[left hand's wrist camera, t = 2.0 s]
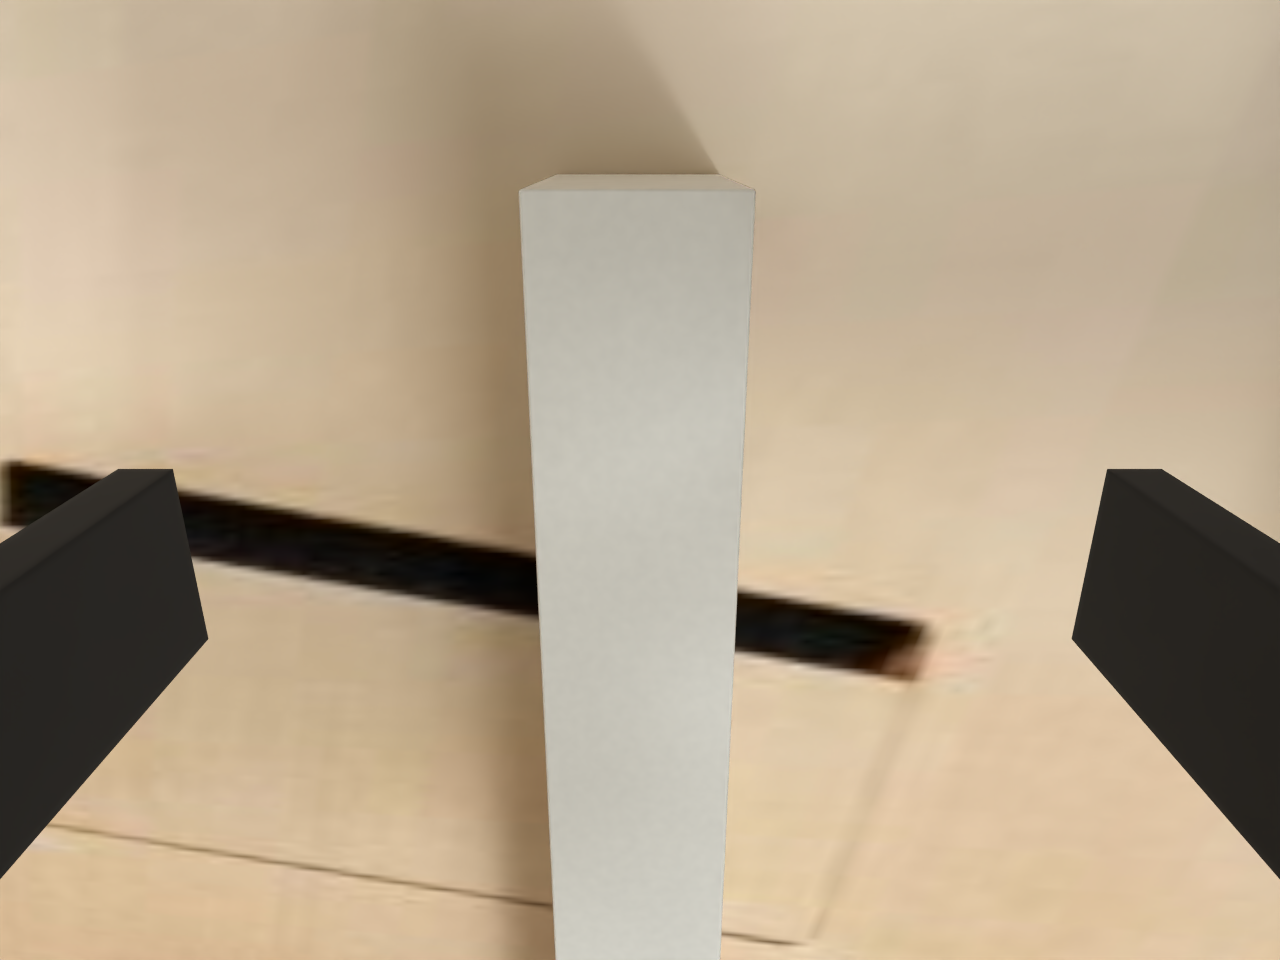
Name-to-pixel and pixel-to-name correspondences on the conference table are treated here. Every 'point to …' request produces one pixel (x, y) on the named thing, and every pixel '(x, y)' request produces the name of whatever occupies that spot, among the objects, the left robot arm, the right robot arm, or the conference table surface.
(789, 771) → the conference table surface
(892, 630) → the conference table surface
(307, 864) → the conference table surface
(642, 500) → the post
